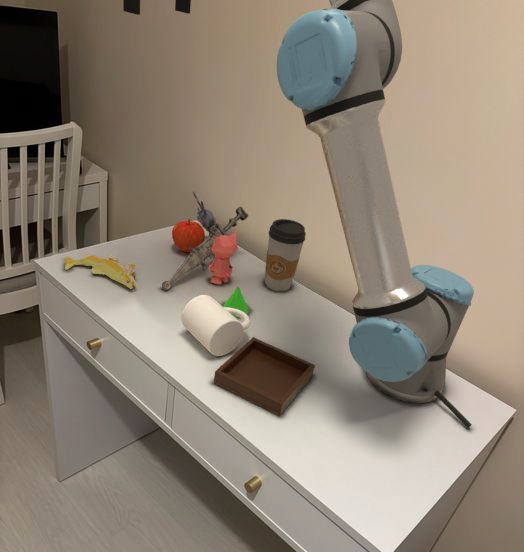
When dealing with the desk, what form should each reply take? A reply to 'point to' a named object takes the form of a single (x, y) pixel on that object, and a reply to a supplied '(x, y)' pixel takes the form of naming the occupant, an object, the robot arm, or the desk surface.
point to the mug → (214, 324)
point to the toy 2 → (205, 216)
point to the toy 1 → (106, 268)
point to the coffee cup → (283, 253)
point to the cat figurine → (222, 257)
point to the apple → (187, 235)
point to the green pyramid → (237, 302)
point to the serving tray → (264, 375)
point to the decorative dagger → (203, 249)
